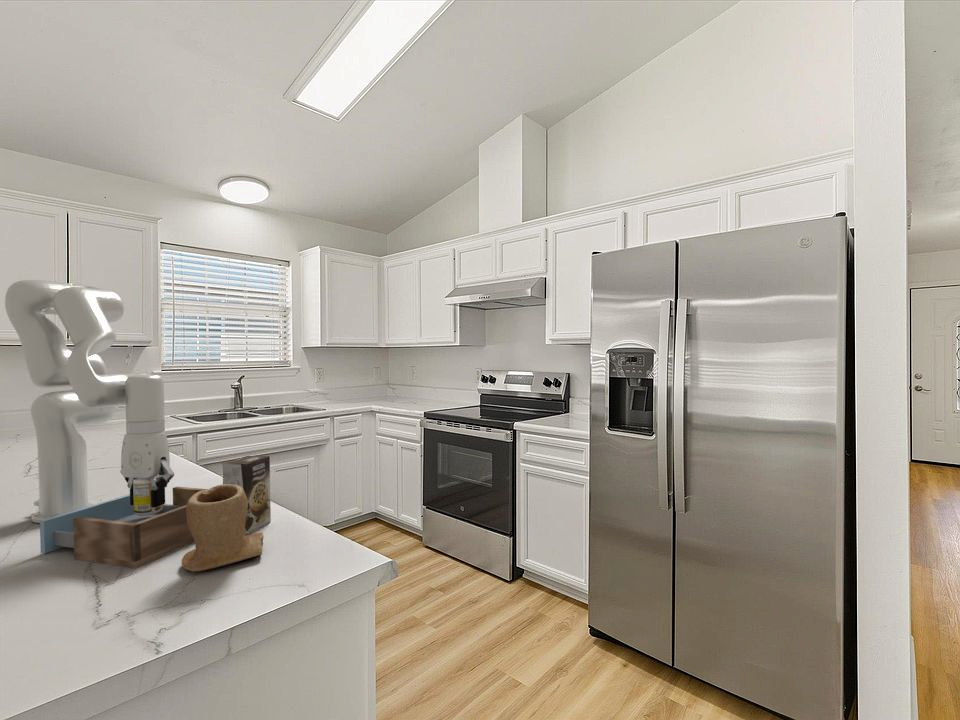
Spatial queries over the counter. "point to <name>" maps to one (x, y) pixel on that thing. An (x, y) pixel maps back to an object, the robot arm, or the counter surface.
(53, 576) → the counter surface
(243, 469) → the coffee box
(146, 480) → the supplement bottle
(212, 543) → the stone cup
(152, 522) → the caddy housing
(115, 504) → the tray
